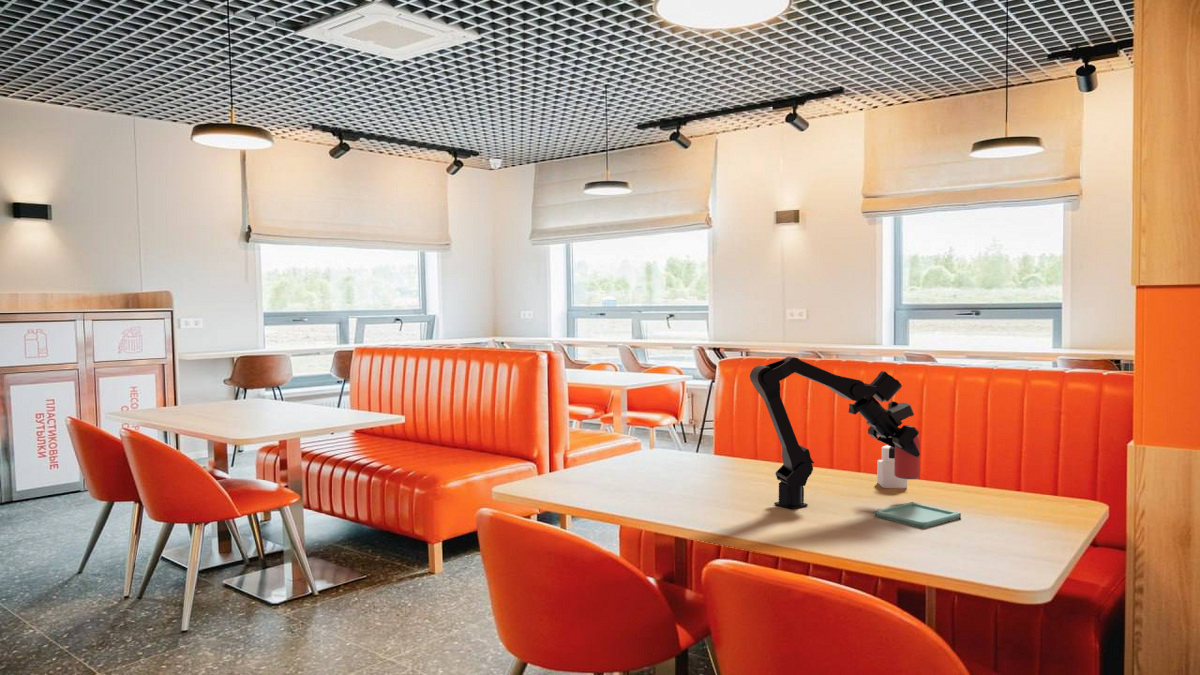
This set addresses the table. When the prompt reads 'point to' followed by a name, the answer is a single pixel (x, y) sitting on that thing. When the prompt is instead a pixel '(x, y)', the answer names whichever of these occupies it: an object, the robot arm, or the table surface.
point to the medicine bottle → (888, 470)
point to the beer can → (907, 463)
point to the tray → (917, 514)
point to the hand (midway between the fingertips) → (912, 453)
